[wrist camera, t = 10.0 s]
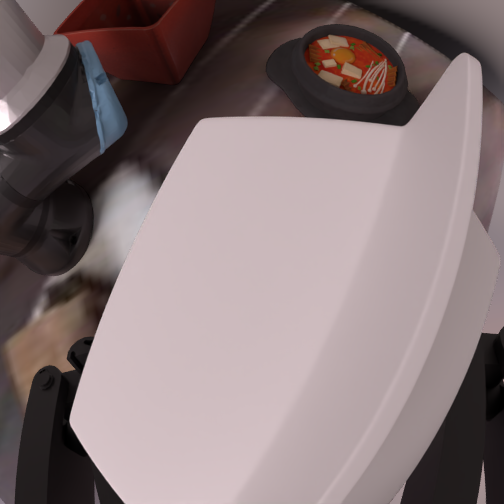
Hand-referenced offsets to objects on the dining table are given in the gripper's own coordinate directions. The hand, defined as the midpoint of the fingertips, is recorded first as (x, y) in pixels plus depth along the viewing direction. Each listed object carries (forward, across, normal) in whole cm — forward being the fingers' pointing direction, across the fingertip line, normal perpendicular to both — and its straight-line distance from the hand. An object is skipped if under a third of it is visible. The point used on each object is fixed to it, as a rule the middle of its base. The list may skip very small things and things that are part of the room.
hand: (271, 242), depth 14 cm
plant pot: (+45, -15, +10) cm, 49 cm away
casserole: (+37, +14, +2) cm, 39 cm away
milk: (+5, 0, -9) cm, 10 cm away
